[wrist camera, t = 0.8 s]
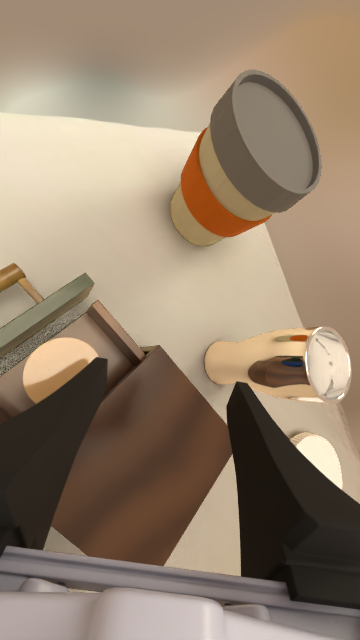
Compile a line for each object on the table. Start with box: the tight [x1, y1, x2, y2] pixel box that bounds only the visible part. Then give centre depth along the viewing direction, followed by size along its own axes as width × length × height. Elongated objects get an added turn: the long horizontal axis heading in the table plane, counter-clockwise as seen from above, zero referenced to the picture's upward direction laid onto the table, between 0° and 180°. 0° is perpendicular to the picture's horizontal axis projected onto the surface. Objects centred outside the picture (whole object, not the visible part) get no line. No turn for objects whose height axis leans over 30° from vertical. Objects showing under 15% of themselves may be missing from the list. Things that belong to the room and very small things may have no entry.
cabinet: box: [51, 345, 232, 566], centre depth 23 cm, size 14×15×7 cm
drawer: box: [0, 263, 146, 424], centre depth 21 cm, size 17×13×5 cm
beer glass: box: [204, 326, 351, 404], centre depth 27 cm, size 7×7×15 cm
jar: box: [22, 337, 99, 404], centre depth 19 cm, size 5×5×8 cm
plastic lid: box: [290, 432, 343, 490], centre depth 36 cm, size 14×14×2 cm
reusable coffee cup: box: [170, 70, 322, 246], centre depth 29 cm, size 13×13×15 cm
